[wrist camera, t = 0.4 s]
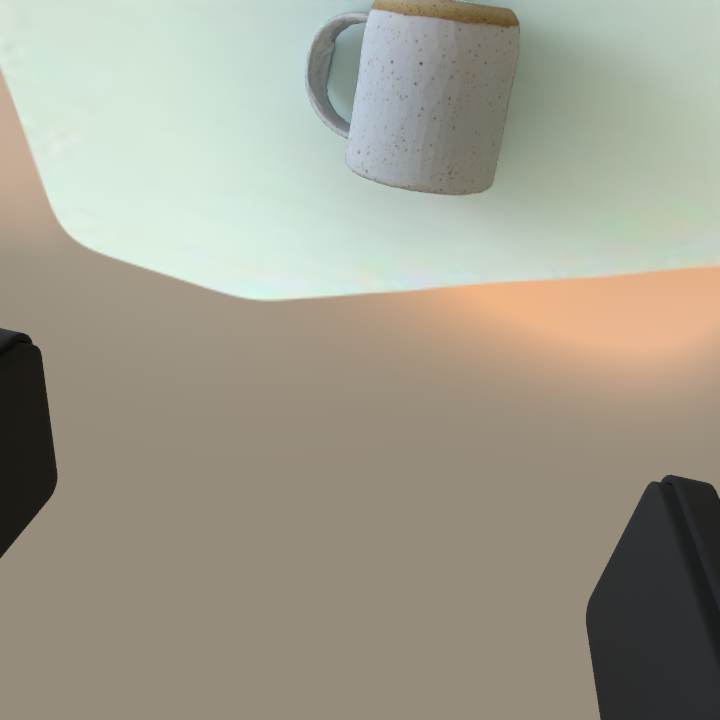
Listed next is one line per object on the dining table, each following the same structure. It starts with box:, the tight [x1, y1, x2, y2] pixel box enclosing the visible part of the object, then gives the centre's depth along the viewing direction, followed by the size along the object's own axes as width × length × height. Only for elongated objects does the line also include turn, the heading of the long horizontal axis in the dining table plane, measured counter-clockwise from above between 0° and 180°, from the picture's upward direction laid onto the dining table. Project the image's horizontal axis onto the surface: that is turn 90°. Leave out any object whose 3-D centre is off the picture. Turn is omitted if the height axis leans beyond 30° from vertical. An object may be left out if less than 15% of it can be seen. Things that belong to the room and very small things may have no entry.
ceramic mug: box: [305, 0, 520, 195], centre depth 32 cm, size 11×8×8 cm
